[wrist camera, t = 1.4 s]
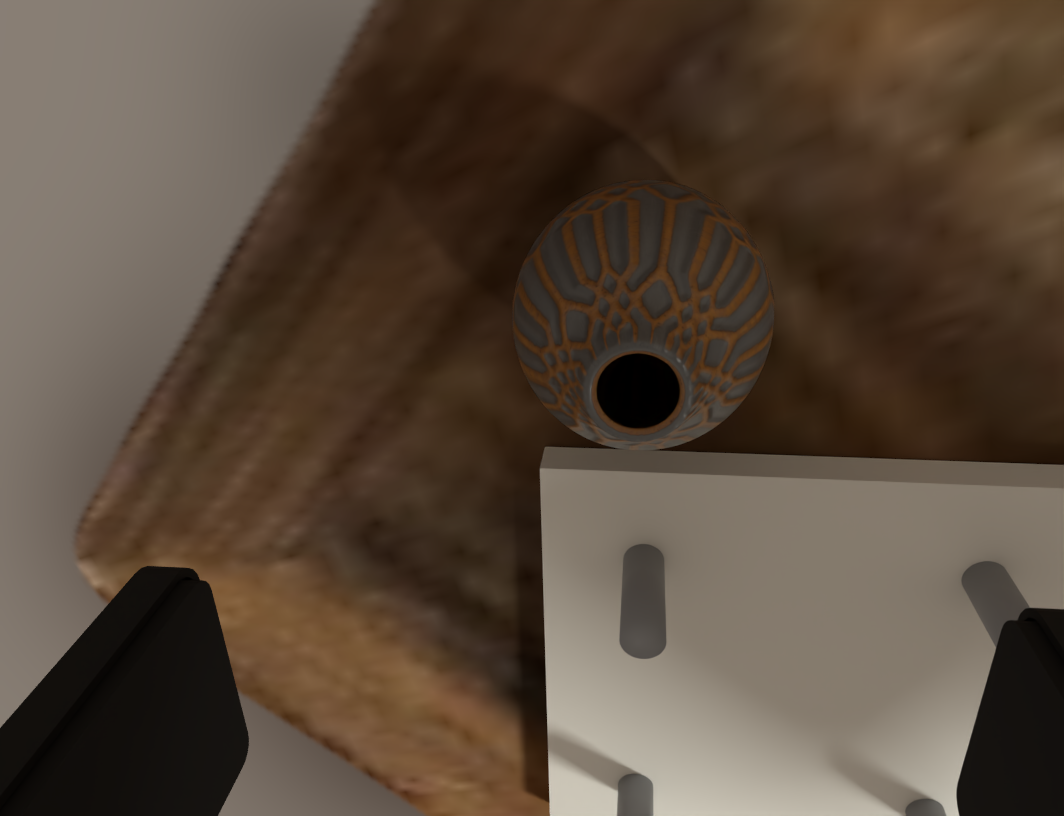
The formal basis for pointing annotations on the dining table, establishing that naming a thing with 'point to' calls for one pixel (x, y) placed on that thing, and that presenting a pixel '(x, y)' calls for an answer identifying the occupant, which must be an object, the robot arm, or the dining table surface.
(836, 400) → the dining table surface
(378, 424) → the dining table surface
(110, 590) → the dining table surface
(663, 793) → the stand
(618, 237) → the vase
